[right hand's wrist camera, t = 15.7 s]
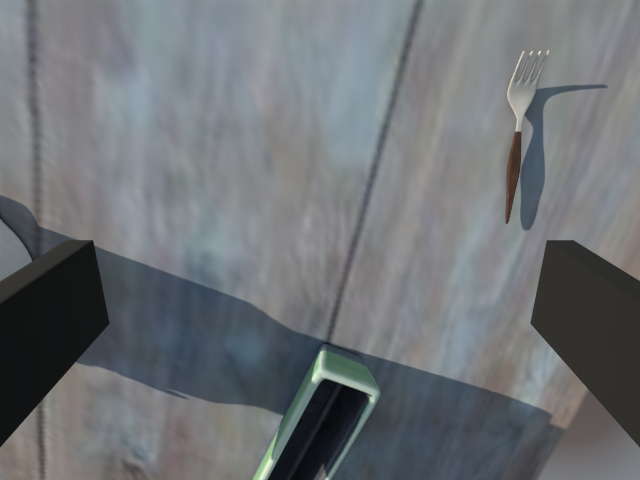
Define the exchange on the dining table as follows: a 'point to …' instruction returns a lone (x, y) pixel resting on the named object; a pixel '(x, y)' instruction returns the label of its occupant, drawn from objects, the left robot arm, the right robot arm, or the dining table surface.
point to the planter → (321, 418)
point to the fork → (519, 121)
